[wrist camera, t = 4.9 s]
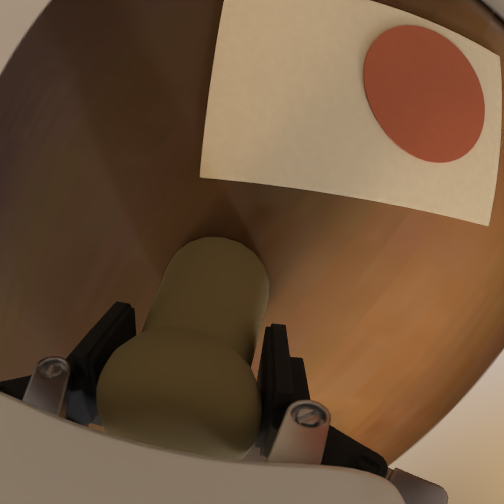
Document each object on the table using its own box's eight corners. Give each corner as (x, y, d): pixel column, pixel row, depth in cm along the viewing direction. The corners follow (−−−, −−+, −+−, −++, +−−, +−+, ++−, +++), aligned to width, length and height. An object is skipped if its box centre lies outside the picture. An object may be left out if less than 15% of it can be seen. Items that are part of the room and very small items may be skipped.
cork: (189, 217, 16) (79, 318, 6) (289, 267, 17) (326, 424, 6) (150, 306, 18) (62, 444, 7) (240, 348, 18) (223, 510, 8)
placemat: (200, 177, 16) (198, 177, 15) (228, -18, 12) (227, -22, 12) (485, 225, 16) (490, 226, 15) (497, 57, 12) (501, 56, 12)
